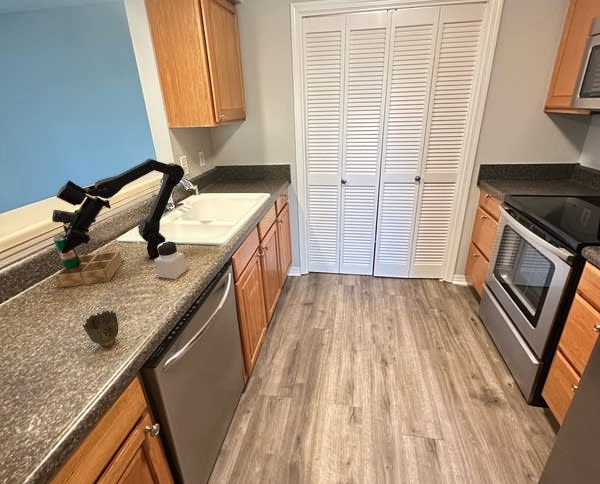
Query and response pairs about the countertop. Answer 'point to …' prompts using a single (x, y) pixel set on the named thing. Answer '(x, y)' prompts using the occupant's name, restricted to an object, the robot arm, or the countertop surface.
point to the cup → (102, 328)
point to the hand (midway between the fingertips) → (62, 250)
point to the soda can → (71, 256)
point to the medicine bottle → (169, 261)
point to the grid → (90, 269)
